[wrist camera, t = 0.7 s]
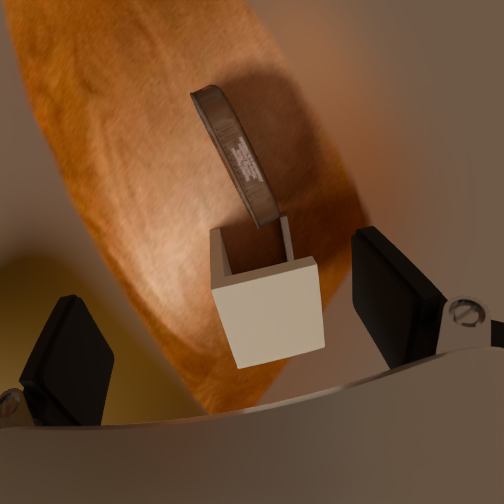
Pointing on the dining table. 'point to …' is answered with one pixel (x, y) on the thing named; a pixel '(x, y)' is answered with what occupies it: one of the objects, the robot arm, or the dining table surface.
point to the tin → (236, 154)
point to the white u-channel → (267, 304)
